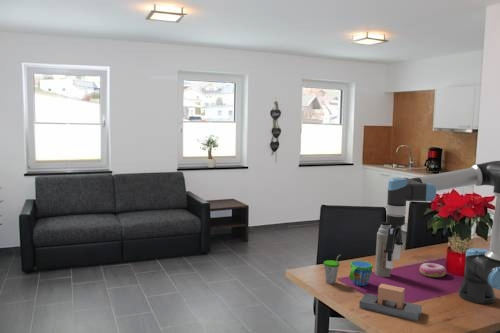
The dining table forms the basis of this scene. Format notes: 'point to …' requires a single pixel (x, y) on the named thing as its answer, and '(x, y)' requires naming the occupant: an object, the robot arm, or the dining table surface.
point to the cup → (331, 270)
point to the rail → (391, 307)
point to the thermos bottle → (382, 251)
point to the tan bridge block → (391, 295)
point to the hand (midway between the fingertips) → (393, 263)
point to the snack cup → (360, 272)
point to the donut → (432, 270)
